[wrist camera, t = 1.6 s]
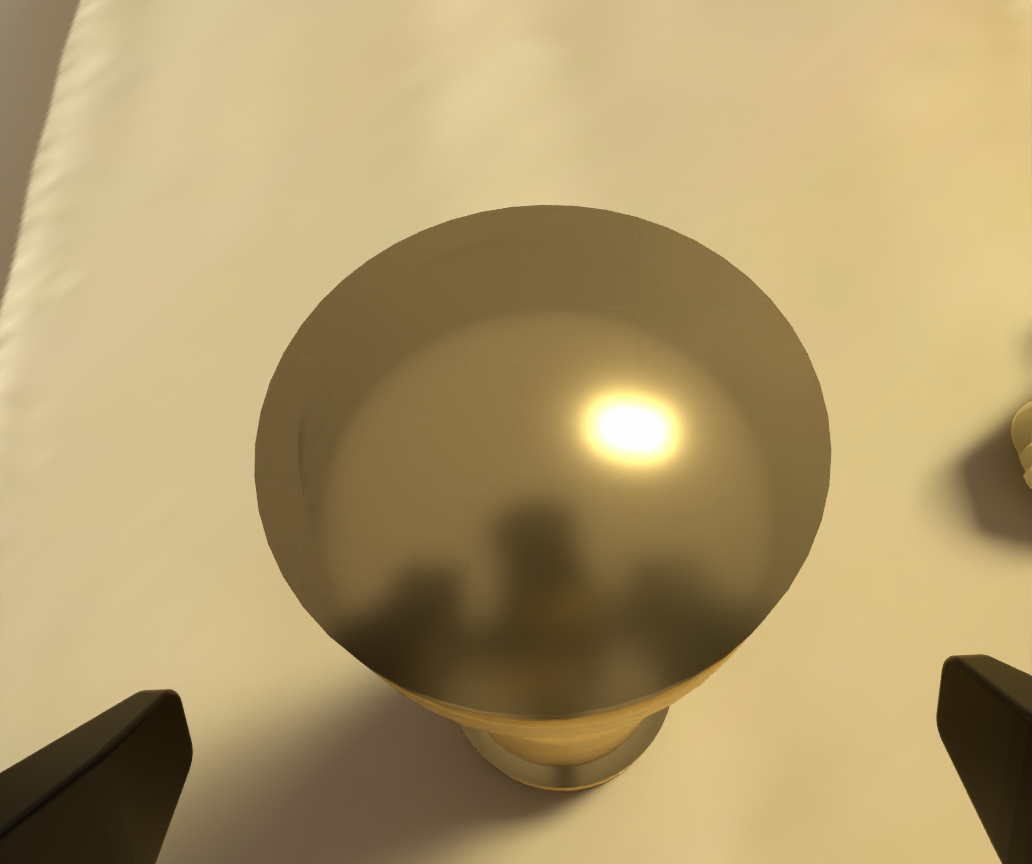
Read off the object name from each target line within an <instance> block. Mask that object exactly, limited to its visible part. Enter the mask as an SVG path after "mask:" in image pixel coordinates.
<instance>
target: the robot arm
mask: <svg viewBox="0 0 1032 864" xmlns="http://www.w3.org/2000/svg"><path fill="white" fill-rule="evenodd" d="M936 719H937V727H938V731H939V734H940V737H941V740H942V742H943V744H944V746H945V748H946V750H947V752H948V754H949V756H950V758H951V760H952V762H953V765H954V767H955V769H956V771H957V773H958V775H959V777H960V779H961V781H962V783H963V785H964V787H965V789H966V791H967V793H968V795H969V798H970V800H971V802H972V804H973V806H974V808H975V810H976V812H977V814H978V816H979V818H980V820H981V822H982V824H983V826H984V828H985V831H986V833H987V835H988V837H989V839H990V841H991V843H992V845H993V847H994V849H995V851H996V853H997V855H998V857H999V859H1000V861H1001V862H1002V864H1032V676H1031V675H1029V674H1027V673H1025V672H1023V671H1020V670H1018V669H1016V668H1014V667H1012V666H1010V665H1007V664H1005V663H1003V662H1001V661H999V660H997V659H995V658H992V657H990V656H987V655H982V654H979V655H957V656H950V657H949V658H947V659H946V660H945V662H944V664H943V668H942V674H941V682H940V690H939V698H938V706H937V716H936ZM192 755H193V748H192V741H191V737H190V733H189V729H188V725H187V721H186V717H185V713H184V709H183V705H182V701H181V698H180V696H179V695H178V693H177V692H176V691H174V690H171V689H165V690H144V691H140V692H137V693H135V694H134V695H132V696H130V697H129V698H127V699H125V700H124V701H122V702H120V703H118V704H117V705H115V706H113V707H112V708H110V709H108V710H107V711H105V712H103V713H101V714H100V715H98V716H96V717H95V718H93V719H91V720H90V721H88V722H86V723H84V724H83V725H81V726H79V727H78V728H76V729H74V730H73V731H71V732H69V733H67V734H66V735H64V736H62V737H61V738H59V739H57V740H55V741H54V742H52V743H50V744H49V745H47V746H45V747H44V748H42V749H40V750H38V751H37V752H35V753H33V754H32V755H30V756H28V757H27V758H25V759H23V760H21V761H20V762H18V763H16V764H15V765H13V766H11V767H10V768H8V769H6V770H4V771H3V772H1V773H0V864H156V861H157V858H158V855H159V853H160V850H161V847H162V844H163V842H164V839H165V836H166V833H167V830H168V828H169V825H170V822H171V819H172V817H173V814H174V811H175V808H176V806H177V803H178V800H179V797H180V795H181V792H182V789H183V786H184V783H185V781H186V778H187V775H188V772H189V770H190V766H191V762H192Z"/></svg>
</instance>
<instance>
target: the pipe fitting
mask: <svg viewBox="0 0 1032 864" xmlns="http://www.w3.org/2000/svg"><path fill="white" fill-rule="evenodd" d="M1011 435H1012V440H1013V443H1014V446H1015V448H1016V450H1017V452H1018V454H1019V456H1018V457H1019V459H1020V462H1021V464H1022V466H1023V468H1024V470H1025V471H1026V473H1025V474H1024V475H1023V477H1024V479H1025V481H1026V483H1027V485H1028V486H1029V487H1030V488H1031V489H1032V400H1031V401H1030V402H1028V403H1027V404H1026V405H1024V406H1023V407H1022V408H1021V409H1020V410H1019V411H1018V412H1017V413H1016V415H1015V416H1014V418H1013V421H1012V426H1011Z"/></svg>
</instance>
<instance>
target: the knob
mask: <svg viewBox="0 0 1032 864" xmlns="http://www.w3.org/2000/svg"><path fill="white" fill-rule="evenodd" d="M830 463H831V442H830V432H829V421H828V414H827V410H826V406H825V402H824V398H823V394H822V390H821V386H820V383H819V380H818V378H817V375H816V373H815V371H814V368H813V366H812V363H811V361H810V359H809V356H808V354H807V352H806V350H805V348H804V347H803V345H802V343H801V342H800V340H799V338H798V336H797V335H796V333H795V331H794V330H793V328H792V326H791V325H790V323H789V322H788V321H787V319H786V318H785V317H784V316H783V314H782V313H781V312H780V311H779V309H778V308H777V307H776V305H775V304H774V303H773V302H772V300H771V299H770V298H769V297H768V296H767V295H766V294H765V293H764V292H763V291H762V290H761V289H760V288H759V287H758V286H757V285H756V284H755V283H754V282H753V281H752V280H751V279H750V278H749V277H748V276H746V275H745V274H744V273H742V272H741V271H740V270H739V269H737V268H736V267H735V266H733V265H732V264H731V263H730V262H728V261H727V260H726V259H724V258H723V257H721V256H720V255H718V254H717V253H715V252H713V251H712V250H710V249H708V248H707V247H705V246H703V245H702V244H700V243H698V242H697V241H695V240H693V239H691V238H689V237H686V236H684V235H682V234H680V233H678V232H676V231H674V230H671V229H669V228H667V227H664V226H661V225H658V224H655V223H653V222H650V221H647V220H644V219H641V218H638V217H634V216H630V215H625V214H621V213H617V212H613V211H608V210H602V209H594V208H587V207H579V206H559V205H536V206H521V207H510V208H503V209H497V210H491V211H485V212H480V213H476V214H472V215H468V216H465V217H461V218H457V219H453V220H450V221H447V222H444V223H442V224H439V225H436V226H434V227H431V228H428V229H426V230H423V231H421V232H419V233H417V234H414V235H412V236H410V237H408V238H406V239H404V240H402V241H400V242H398V243H396V244H394V245H392V246H391V247H389V248H388V249H386V250H384V251H383V252H381V253H379V254H378V255H376V256H375V257H373V258H371V259H370V260H368V261H367V262H365V263H364V264H363V265H362V266H360V267H359V268H358V269H357V270H355V271H354V272H353V273H351V274H350V275H349V276H348V277H346V278H345V279H344V280H342V281H341V282H340V283H339V284H338V285H337V286H336V287H335V288H334V289H333V290H332V291H331V292H330V293H329V294H328V295H327V296H326V297H325V298H324V299H323V300H322V301H321V302H320V303H319V304H318V306H317V307H316V308H315V309H314V310H313V312H312V313H311V314H310V315H309V317H308V318H307V319H306V320H305V321H304V323H303V324H302V325H301V326H300V328H299V330H298V331H297V333H296V334H295V336H294V337H293V339H292V341H291V342H290V344H289V345H288V347H287V349H286V350H285V352H284V353H283V356H282V358H281V360H280V362H279V364H278V366H277V368H276V371H275V373H274V375H273V377H272V379H271V381H270V384H269V387H268V391H267V394H266V397H265V400H264V403H263V406H262V410H261V414H260V419H259V425H258V431H257V437H256V443H255V484H256V492H257V500H258V508H259V513H260V517H261V520H262V524H263V527H264V531H265V534H266V538H267V541H268V544H269V547H270V549H271V551H272V553H273V555H274V558H275V560H276V562H277V564H278V566H279V569H280V571H281V573H282V575H283V577H284V578H285V580H286V582H287V583H288V585H289V586H290V588H291V589H292V591H293V592H294V594H295V595H296V597H297V598H298V600H299V601H300V603H301V604H302V606H303V607H304V608H305V610H306V611H307V612H308V613H309V614H310V615H311V616H312V617H313V618H314V620H315V621H316V622H317V623H318V624H319V625H320V626H321V627H322V628H323V630H324V631H325V632H326V633H327V634H328V635H329V636H330V637H331V638H332V639H334V640H335V641H336V642H337V643H338V644H340V645H341V646H342V647H343V648H345V649H346V650H347V651H348V652H349V653H351V654H352V655H353V656H354V657H356V658H357V659H358V660H359V661H360V662H362V663H363V664H364V665H366V666H367V667H368V668H369V669H371V670H372V671H373V672H375V673H376V674H377V675H378V676H380V677H381V678H382V679H383V680H385V681H386V682H387V683H389V684H390V685H391V686H392V687H394V688H395V689H396V690H398V691H399V692H400V693H401V694H403V695H405V696H406V697H408V698H410V699H411V700H413V701H415V702H416V703H418V704H420V705H421V706H423V707H424V708H426V709H428V710H429V711H431V712H434V713H436V714H438V715H441V716H443V717H445V718H448V719H450V720H453V721H455V722H457V723H458V724H459V725H460V727H461V729H462V731H463V733H464V734H465V736H466V737H467V738H468V740H469V741H470V743H471V744H472V745H473V747H474V748H475V749H476V750H477V751H478V752H479V753H480V754H481V755H482V756H483V757H484V758H485V759H486V760H488V761H489V762H490V763H491V764H492V765H494V766H495V767H496V768H497V769H499V770H500V771H501V772H503V773H504V774H506V775H508V776H509V777H511V778H512V779H514V780H516V781H518V782H521V783H523V784H525V785H528V786H531V787H535V788H538V789H542V790H549V791H557V792H560V791H577V790H582V789H588V788H591V787H594V786H597V785H600V784H602V783H604V782H606V781H608V780H610V779H612V778H614V777H616V776H617V775H619V774H620V773H622V772H623V771H625V770H626V769H627V768H628V767H629V766H630V765H631V764H633V763H634V762H635V761H636V760H637V759H638V758H639V757H640V756H641V755H642V753H643V752H644V751H645V750H646V749H647V747H648V746H649V745H650V744H651V742H652V741H653V740H654V738H655V736H656V735H657V733H658V732H659V730H660V728H661V726H662V724H663V722H664V720H665V717H666V715H667V713H668V709H669V706H670V705H672V704H673V703H675V702H676V701H678V700H679V699H681V698H682V697H684V696H685V695H686V694H688V693H689V692H691V691H692V690H694V689H695V688H697V687H698V686H700V685H701V684H702V683H703V682H704V681H705V680H706V679H708V678H709V677H710V676H711V675H712V674H713V673H714V672H715V671H716V670H717V669H718V668H720V667H721V666H722V665H723V664H724V663H725V662H726V661H727V660H728V659H729V658H730V657H731V655H732V654H733V653H734V652H735V651H736V650H737V649H738V648H739V647H740V646H741V644H742V643H743V642H744V641H745V640H746V639H747V638H748V637H749V636H750V635H751V633H752V632H753V631H754V630H755V629H756V628H757V627H758V626H759V625H760V624H761V622H762V621H763V620H764V619H765V618H766V616H767V615H768V614H769V613H770V611H771V610H772V609H773V608H774V607H775V605H776V604H777V603H778V602H779V600H780V599H781V598H782V597H783V595H784V594H785V593H786V592H787V591H788V589H789V587H790V586H791V584H792V582H793V581H794V579H795V577H796V575H797V574H798V572H799V570H800V568H801V567H802V565H803V563H804V562H805V560H806V558H807V556H808V554H809V552H810V549H811V546H812V544H813V541H814V539H815V536H816V534H817V531H818V529H819V526H820V523H821V521H822V516H823V512H824V507H825V502H826V498H827V493H828V489H829V480H830Z"/></svg>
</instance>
